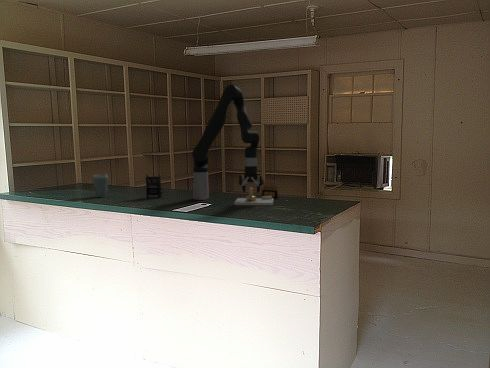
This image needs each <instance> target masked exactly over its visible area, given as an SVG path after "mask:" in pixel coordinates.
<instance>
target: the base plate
mask: <svg viewBox="0 0 490 368" xmlns="http://www.w3.org/2000/svg"><path fill="white" fill-rule="evenodd" d="M274 200H275V198H272V196H262V195H261V197H259V198H258V197H256V200H246V197H244V198H243V197H238V198H236V199H235V201H234V202H233V203H234V206H273V204H274V203H275V202H274Z"/></svg>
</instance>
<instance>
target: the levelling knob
mask: <svg viewBox="0 0 490 368" xmlns="http://www.w3.org/2000/svg"><path fill="white" fill-rule="evenodd" d="M245 198H246V200H256V198H257V195H254V187H252V186H250V187H249V194H248V195H246V197H245Z"/></svg>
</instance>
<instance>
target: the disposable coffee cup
mask: <svg viewBox="0 0 490 368" xmlns="http://www.w3.org/2000/svg"><path fill="white" fill-rule="evenodd" d="M91 179H92V183H93V188H94V191H95V196H96V198H98V197H101V198H106V197H107V196H108V188H109V186H108V185H109V175H108V173H97V174H93V175H92V177H91Z"/></svg>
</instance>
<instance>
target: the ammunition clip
mask: <svg viewBox="0 0 490 368" xmlns="http://www.w3.org/2000/svg"><path fill="white" fill-rule="evenodd" d="M261 186H262V188H261V197H262V196H272V198H274V200H275V199H276V200H277V199H279V190H278V188H279V187H278V180H277V179H273V180H272V179H269V178H268V179H264V178H263V185H261Z"/></svg>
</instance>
